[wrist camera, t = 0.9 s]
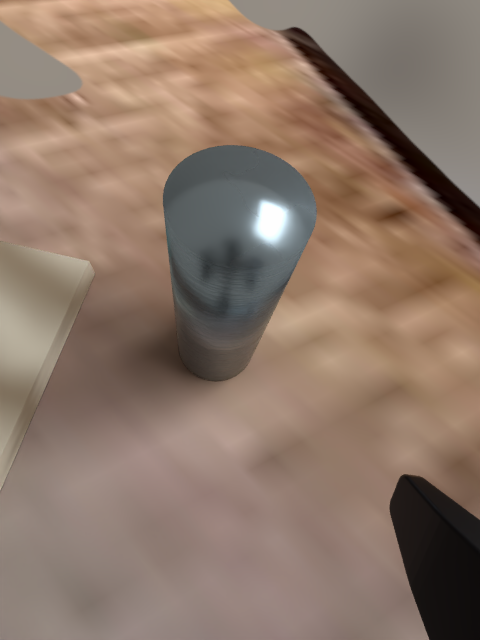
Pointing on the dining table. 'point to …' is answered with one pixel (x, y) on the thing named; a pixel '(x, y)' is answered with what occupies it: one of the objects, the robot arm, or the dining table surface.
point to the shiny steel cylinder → (231, 250)
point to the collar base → (32, 332)
